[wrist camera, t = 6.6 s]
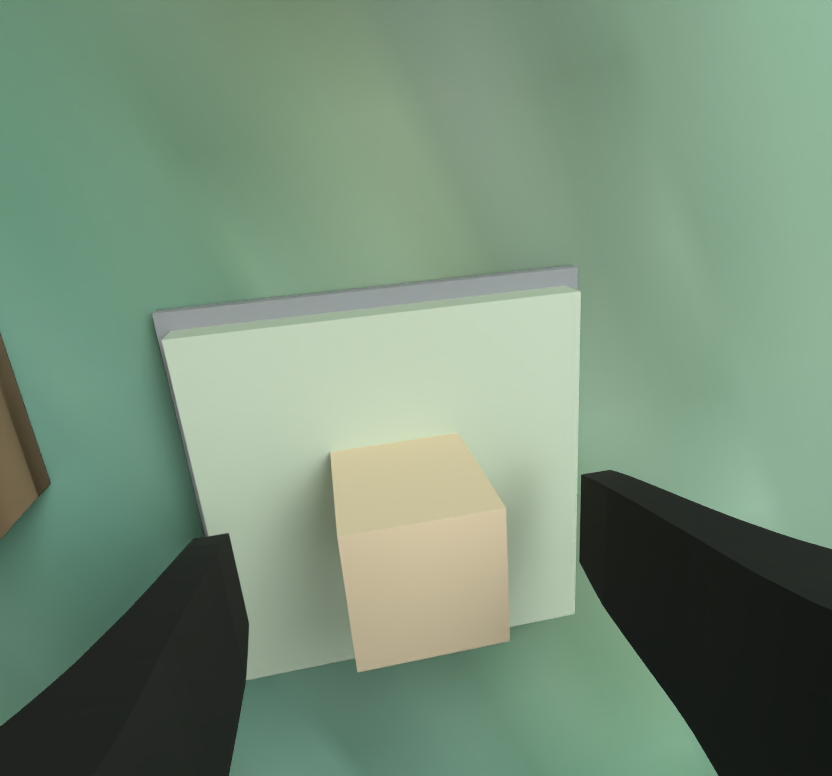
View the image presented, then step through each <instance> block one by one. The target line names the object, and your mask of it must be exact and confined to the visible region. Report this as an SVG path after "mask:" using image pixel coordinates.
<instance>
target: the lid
mask: <svg viewBox="0 0 832 776" xmlns="http://www.w3.org/2000/svg"><path fill="white" fill-rule="evenodd" d="M580 304H581V291H578V290H576V289H573V288H570V287H567V286H557V287H548V288H540V289H531V290H522V291H513V292H505V293H496V294H487V295H478V296H470V297H461V298H452V299H444V300H435V301H426V302H417V303H409V304H400V305H391V306H382V307H374V308H365V309H356V310H347V311H339V312H330V313H321V314H312V315H304V316H295V317H286V318H277V319H269V320H260V321H251V322H243V323H234V324H225V325H216V326H208V327H199V328H190V329H181V330H173V331H170V332H169V333H168V334H167V335H166V336H165V337H164V338H163V339H162V344H163V348H164V353H165V357H166V361H167V365H168V369H169V373H170V378H171V382H172V386H173V390H174V394H175V398H176V403H177V407H178V411H179V415H180V419H181V424H182V428H183V432H184V436H185V440H186V444H187V449H188V453H189V457H190V461H191V465H192V470H193V474H194V478H195V482H196V486H197V490H198V495H199V499H200V503H201V507H202V511H203V515H204V520H205V524H206V528H207V532H208V536H213V535H219V534H225V533H229V536H230V540H231V545H232V549H233V554H234V558H235V562H236V567H237V571H238V576H239V580H240V585H241V589H242V594H243V598H244V603H245V607H246V612H247V616H248V621H249V640H248V659H247V674H246V680H251V679H256V678H261V677H266V676H271V675H276V674H280V673H285V672H290V671H295V670H300V669H305V668H310V667H315V666H320V665H325V664H330V663H335V662H340V661H345V660H350V659H354V658H355V660H356V666H357V673H358V672H363V671H367V670H372V669H377V668H382V667H387V666H392V665H396V664H401V663H406V662H411V661H416V660H421V659H426V658H430V657H435V656H440V655H445V654H450V653H455V652H459V651H464V650H469V649H474V648H479V647H484V646H489V645H493V644H498V643H503V642H508V641H510V627H512V626H517V625H522V624H527V623H532V622H537V621H542V620H547V619H552V618H557V617H562V616H567V615H572V614H575V572H576V519H577V465H578V411H579V357H580Z"/></svg>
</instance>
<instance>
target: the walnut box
mask: <svg viewBox="0 0 832 776" xmlns="http://www.w3.org/2000/svg"><path fill="white" fill-rule="evenodd" d="M49 485H50V480H49V477H48V474H47V471H46V468H45V465H44V462H43V459H42V456H41V453H40V450H39V447H38V444H37V442H36V439H35V436H34V433H33V430H32V427H31V424H30V421H29V418H28V415H27V412H26V409H25V406H24V403H23V400H22V397H21V394H20V391H19V388H18V385H17V382H16V379H15V376H14V373H13V370H12V367H11V364H10V361H9V358H8V355H7V352H6V349H5V347H4V344H3V341H2V338H1V335H0V539H1V538H2V537H3V536H4V535H5V533H6V532H7V531H8V530H9V529H10V528H11V527H12V526H13V525H14V523H15V522H16V521H17V520H18V519H19V518H20V517H21V516H22V515H23V513H24V512H25V511H26V510H27V509H28V508H29V507H30V506H31V505H32V503H33V502H34V501H35V500H36V499H37V498H38V497H39V496H40V495H41V493H42V492H43V491H44V490H45V489H46V488H47V487H48V486H49Z"/></svg>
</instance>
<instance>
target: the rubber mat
mask: <svg viewBox="0 0 832 776" xmlns="http://www.w3.org/2000/svg"><path fill="white" fill-rule="evenodd" d="M557 286H567V287H570V288H573V289H576V290H578V267H576V266H572V265H566V266H557V267H547V268H538V269H529V270H520V271H511V272H501V273H492V274H483V275H474V276H464V277H455V278H446V279H437V280H428V281H418V282H409V283H400V284H391V285H382V286H372V287H363V288H354V289H345V290H335V291H326V292H317V293H308V294H299V295H289V296H280V297H271V298H262V299H252V300H243V301H234V302H225V303H216V304H206V305H197V306H188V307H179V308H170V309H160V310H156V311H155V312H153V313H152V317H153V321H154V325H155V329H156V333H157V337H158V342H159V346H160V350H161V354H162V358H163V362H164V367H165V371H166V375H167V379H168V383H169V387H170V391H171V396H172V400H173V404H174V408H175V412H176V416H177V421H178V425H179V429H180V433H181V437H182V441H183V445H184V450H185V454H186V458H187V462H188V466H189V470H190V475H191V479H192V483H193V487H194V491H195V495H196V499H197V504H198V508H199V512H200V516H201V520H202V524H203V529H204V533H205V537H207V536H208V532H207V528H206V524H205V520H204V515H203V511H202V507H201V503H200V499H199V495H198V490H197V486H196V482H195V478H194V474H193V470H192V465H191V461H190V457H189V453H188V449H187V444H186V440H185V436H184V432H183V428H182V424H181V419H180V415H179V411H178V407H177V403H176V398H175V394H174V390H173V386H172V382H171V378H170V373H169V369H168V365H167V361H166V357H165V353H164V348H163V344H162V339H163V338H164V337H165V336H166V335H167V334H168V333H169V332H170V331H173V330H181V329H190V328H199V327H208V326H216V325H225V324H234V323H243V322H251V321H260V320H269V319H277V318H286V317H295V316H304V315H312V314H321V313H330V312H339V311H347V310H356V309H365V308H374V307H382V306H391V305H400V304H409V303H417V302H426V301H435V300H444V299H452V298H461V297H470V296H478V295H487V294H496V293H505V292H513V291H522V290H531V289H540V288H548V287H557Z"/></svg>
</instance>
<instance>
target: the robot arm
mask: <svg viewBox="0 0 832 776" xmlns="http://www.w3.org/2000/svg"><path fill="white" fill-rule="evenodd" d="M579 562H580V564H581V566H582V568H583V569H584V571H585V573H586V575H587V577H588V579H589V581H590V583H591V585H592V587H593V589H594V590H595V592H596V594H597V596H598V598H599V599H600V601H601V603H602V605H603V606H604V608H605V609H606V611H607V612H608V614H609V615H610V617H611V618H612V619H613V621H614V622H615V624H616V625H617V626H618V628H619V629H620V631H621V632H622V633H623V635H624V636H625V638H626V639H627V640H628V642H629V643H630V644H631V646H632V647H633V649H634V650H635V651H636V653H637V654H638V655H639V657H640V658H641V660H642V661H643V662H644V664H645V665H646V666H647V668H648V669H649V671H650V672H651V673H652V675H653V676H654V677H655V679H656V680H657V682H658V683H659V684H660V686H661V687H662V688H663V690H664V691H665V693H666V694H667V695H668V697H669V698H670V699H671V701H672V702H673V704H674V705H675V706H676V708H677V709H678V711H679V712H680V714H681V715H682V717H683V718H684V720H685V721H686V723H687V724H688V726H689V727H690V729H691V730H692V732H693V733H694V735H695V737H696V738H697V740H698V742H699V743H700V745H701V747H702V749H703V750H704V752H705V754H706V755H707V757H708V759H709V760H710V762H711V764H712V765H713V767H714V769H715V770H716V772H717V774H718V776H832V549H829V548H825V547H822V546H818V545H815V544H811V543H808V542H804V541H801V540H798V539H795V538H791V537H788V536H785V535H782V534H779V533H776V532H773V531H770V530H767V529H765V528H762V527H759V526H756V525H753V524H750V523H748V522H745V521H742V520H739V519H736V518H734V517H731V516H728V515H726V514H723V513H721V512H718V511H715V510H713V509H710V508H708V507H705V506H703V505H700V504H698V503H695V502H693V501H690V500H688V499H685V498H683V497H680V496H678V495H676V494H673V493H671V492H668V491H666V490H663V489H661V488H658V487H656V486H654V485H651V484H649V483H646V482H644V481H641V480H638V479H636V478H633V477H631V476H628V475H625V474H622V473H619V472H616V471H612V470H607V471H601V472H595V473H589V474H583V475H581V514H580V560H579ZM248 640H249V621H248V616H247V612H246V607H245V603H244V598H243V594H242V589H241V585H240V580H239V576H238V571H237V567H236V562H235V558H234V554H233V549H232V545H231V540H230V536H229V533H225V534H219V535H213V536H207V537H201V538H195V539H193V540H192V541H191V542H190V543H189V544H188V545H187V546H186V548H185V549H184V550H183V551H182V552H181V553H180V554H179V555H178V556H177V557H176V559H175V560H174V561H173V562H172V563H171V564H170V565H169V566H168V568H167V569H166V570H165V571H164V572H163V573H162V574H161V575H160V576H159V578H158V579H157V580H156V581H155V582H154V583H153V584H152V585H151V586H150V587H149V588H148V589H147V591H146V592H145V593H144V594H143V595H142V596H141V597H140V598H139V599H138V600H137V601H136V602H135V604H134V605H133V606H132V607H131V608H130V609H129V610H128V611H127V612H126V613H125V614H124V615H123V616H122V617H121V618H120V619H119V620H118V621H117V622H116V623H115V624H114V625H113V626H112V627H111V628H110V629H109V630H108V631H107V632H106V633H105V634H104V635H103V636H102V637H101V638H100V639H99V640H98V641H97V642H96V643H95V644H94V645H93V646H92V647H91V648H90V649H89V650H88V651H87V652H86V653H85V654H84V655H83V656H82V657H81V658H80V659H79V660H77V661H76V662H75V663H74V664H73V665H72V666H71V667H70V668H69V669H68V670H67V671H66V672H64V673H63V674H62V675H61V676H60V677H59V678H58V679H56V680H55V681H54V682H53V683H52V684H51V685H50V686H49V687H47V688H46V689H45V690H44V691H43V692H41V693H40V694H39V695H38V696H37V697H36V698H34V699H33V700H32V701H31V702H30V703H28V704H27V705H26V706H25V707H24V708H22V709H21V710H20V711H19V712H18V713H17V714H15V715H14V716H13V717H12V718H10V719H9V720H8V721H7V722H5V723H4V724H3V725H2V726H0V776H229V772H230V766H231V761H232V755H233V750H234V744H235V739H236V733H237V728H238V722H239V717H240V711H241V705H242V700H243V694H244V688H245V682H246V674H247V659H248Z"/></svg>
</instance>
